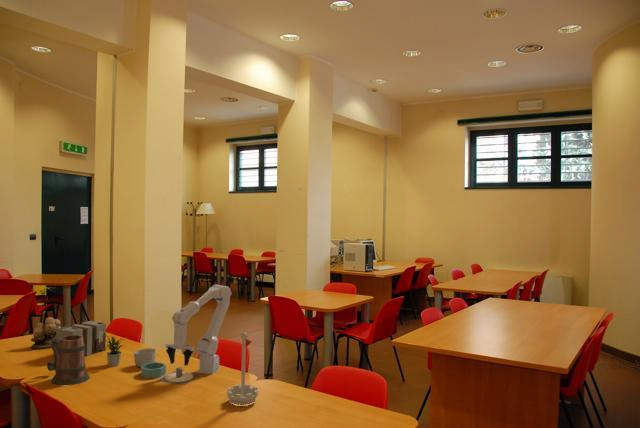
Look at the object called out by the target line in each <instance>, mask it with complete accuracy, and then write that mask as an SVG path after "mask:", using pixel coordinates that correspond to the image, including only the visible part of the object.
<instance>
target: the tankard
mask: <svg viewBox="0 0 640 428" xmlns="http://www.w3.org/2000/svg"><path fill="white" fill-rule="evenodd" d="M51 349H52V352H53V356H54V357H53V360H51V361H47V363H46V368H47V370H48V371H49V372H52V371H54V372H55V375H54V376H53V377H52V379H51V380H50V381H51V383H52V384H51V383H50V384H51V385H53V384H56V385H55V386H57V385H69V386H75V384H76V385H80V384H83V383H86V382H88V380H90V378H91V377H90V375H88V372H87V371H86V365H87V364H86V360H85V359H86V356H85V344H84V339H83V336H81V335H74V336H65V337H61V338H60V339H57V340H53V341H52V348H51Z"/></svg>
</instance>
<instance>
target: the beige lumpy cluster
mask: <svg viewBox="0 0 640 428" xmlns="http://www.w3.org/2000/svg"><path fill="white" fill-rule="evenodd" d="M45 323H46V324H44V323H43V322H38V323H36V325H35V328H34V330H33V333H32V336H33V337H31V338H30V342H33V344H32V345H31V346H30V349H31V350H35V351H39V350H49V349H52V341H53V340H56V330H57V329H58V328H62V326H61V325H62V324H61V321H60V319H57V318H53V317H50V316H48V317H47V318H45Z"/></svg>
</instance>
